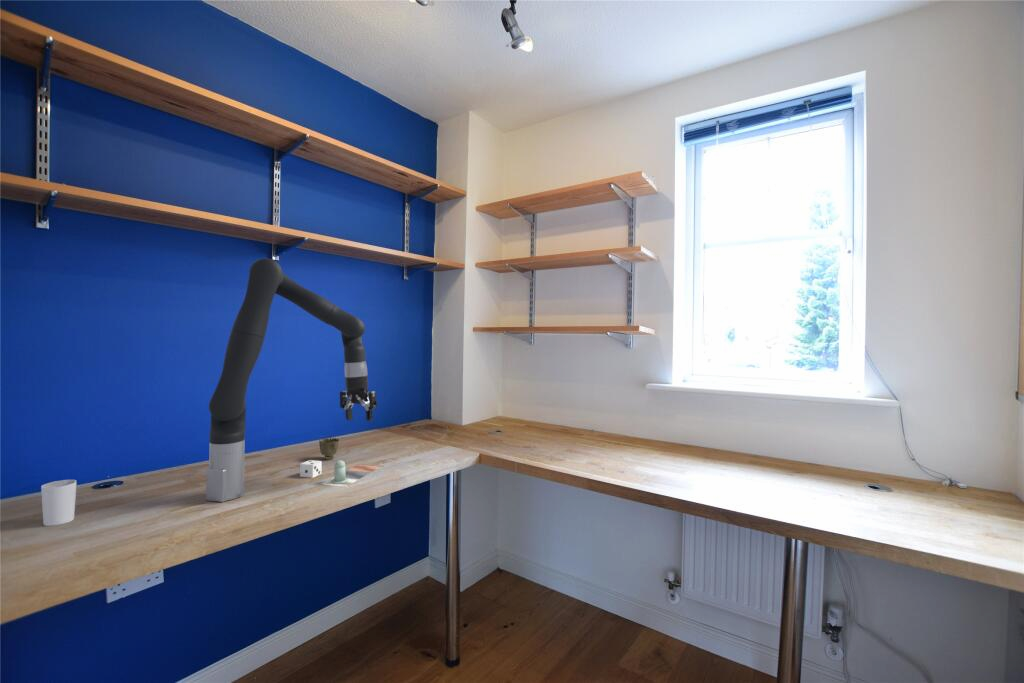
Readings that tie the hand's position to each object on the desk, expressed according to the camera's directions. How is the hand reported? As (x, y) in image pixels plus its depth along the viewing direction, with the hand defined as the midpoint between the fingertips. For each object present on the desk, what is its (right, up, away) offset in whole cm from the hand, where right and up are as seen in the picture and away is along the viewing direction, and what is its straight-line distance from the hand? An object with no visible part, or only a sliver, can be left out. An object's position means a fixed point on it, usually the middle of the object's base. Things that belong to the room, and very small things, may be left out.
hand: (359, 420), depth 158 cm
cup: (-21, -20, +24) cm, 37 cm away
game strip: (-3, -20, +3) cm, 21 cm away
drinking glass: (-66, -20, -40) cm, 80 cm away
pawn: (-5, -20, -5) cm, 21 cm away
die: (-18, -20, +2) cm, 27 cm away
